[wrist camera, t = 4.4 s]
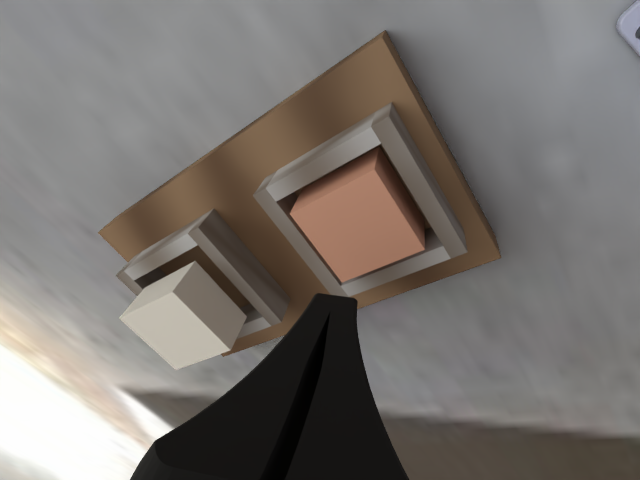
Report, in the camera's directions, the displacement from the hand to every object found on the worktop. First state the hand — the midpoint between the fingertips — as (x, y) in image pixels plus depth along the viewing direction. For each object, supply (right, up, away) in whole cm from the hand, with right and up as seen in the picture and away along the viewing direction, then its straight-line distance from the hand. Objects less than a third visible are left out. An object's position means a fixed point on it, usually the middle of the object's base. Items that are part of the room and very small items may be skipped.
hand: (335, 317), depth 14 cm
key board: (-2, +3, +11) cm, 12 cm away
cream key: (-8, -1, +10) cm, 13 cm away
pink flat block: (+2, +4, +7) cm, 8 cm away
